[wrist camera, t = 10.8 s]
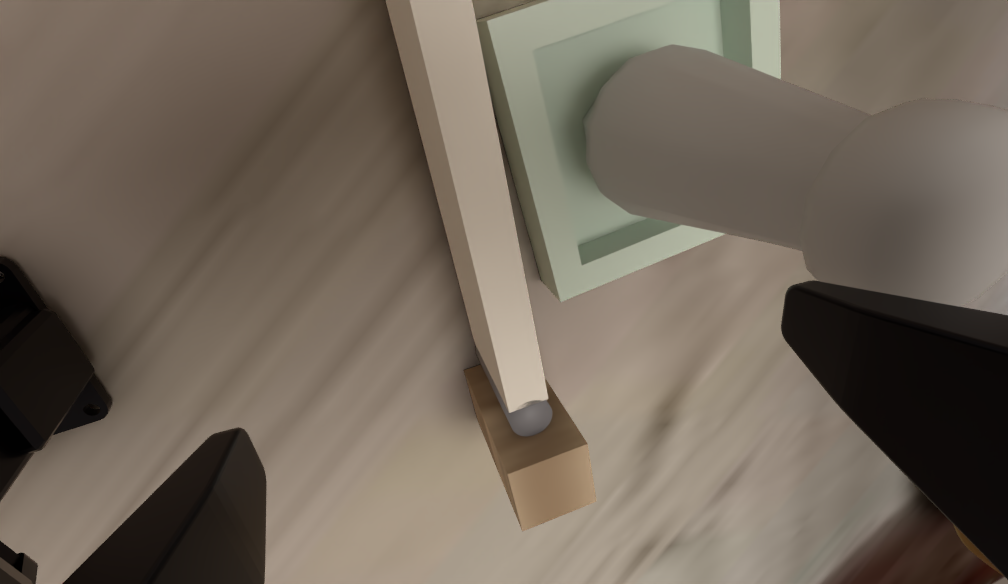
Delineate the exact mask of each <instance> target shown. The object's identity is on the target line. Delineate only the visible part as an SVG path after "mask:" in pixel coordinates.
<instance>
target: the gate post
mask: <svg viewBox="0 0 1008 584" xmlns="http://www.w3.org/2000/svg"><path fill="white" fill-rule="evenodd" d="M464 373H465V377H466V380H467V384H468V387H469V391H470V394H471V398H472V402H473V405H474V409H475V412H476V416H477V419H478V422H479V425H480V427H481V430H482V432H483V435H484V437H485V440H486V442H487V444H488V447H489V449H490V452H491V454H492V457H493V459H494V462H495V464H496V467H497V469H498V472H499V474H500V477H501V479H502V482H503V484H504V487H505V489H506V492H507V494H508V497H509V499H510V502H511V504H512V507H513V509H514V512H515V514H516V517H517V519H518V522H519V524H520V526H521V529H522V531H525V530H527V529H529V528H532V527H534V526H537V525H539V524H542V523H544V522H547V521H549V520H552V519H554V518H557V517H559V516H562V515H564V514H567V513H569V512H572V511H574V510H577V509H579V508H581V507H584V506H586V505H589V504H591V503H594V502H596V495H595V489H594V482H593V476H592V469H591V463H590V457H589V450H588V444H587V442H586V441H585V439H584V438H583V436H582V435H581V433H580V431H579V430H578V428H577V427H576V425H575V424H574V422H573V421H572V419H571V418H570V416H569V414H568V413H567V411H566V410H565V408H564V407H563V405H562V404H561V402H560V401H559V399H558V397H557V396H556V394H555V393H554V391H553V390H552V388H551V387H550V385H549V384H548V382H547V380H546V379H545V383H546V388H547V393H548V399H547V402H548V403H549V405H550V407H551V409H552V419H551V422H550V423H549V425H548V426H547V427H546V428H545V429H544V430H543V431H542V432H540V433H538V434H536V435H533V436H520V435H518V434H516V433H515V432H514V431H513V430H512V428H511V426H510V424H509V422H508V420H507V417H506V415H505V413H504V411H503V409H502V407H501V405H500V403H499V401H498V399H497V397H496V395H495V392H494V390H493V388H492V386H491V384H490V382H489V380H488V378H487V376H486V374H485V372H484V370H483V368H482V365H478V366H475V367H472V368H469V369H466V370H464ZM544 378H545V377H544Z"/></svg>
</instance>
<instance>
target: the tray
mask: <svg viewBox="0 0 1008 584" xmlns="http://www.w3.org/2000/svg"><path fill="white" fill-rule="evenodd" d="M476 23H477V29H478V34H479V39H480V44H481V49H482V55H483V60H484V65H485V70H486V76H487V81H488V86H489V91H490V96H491V101H492V105H493V108H494V112H495V116H496V119H497V123H498V126H499V130H500V134H501V137H502V141H503V144H504V148H505V152H506V155H507V159H508V162H509V166H510V170H511V173H512V177H513V180H514V184H515V188H516V191H517V195H518V198H519V202H520V206H521V209H522V213H523V216H524V220H525V224H526V227H527V231H528V234H529V238H530V242H531V245H532V249H533V252H534V256H535V260H536V263H537V267H538V270H539V274H540V278H541V281H542V282H543V283H544V284H545V285H546V286H547V287H548V289H549V290H550V291H551V292H552V293H553V294H554V295H555V296H556V298H557V299H558V300H559V301H560V302H563V301H565V300H568V299H570V298H572V297H575V296H577V295H580V294H582V293H584V292H587V291H589V290H592V289H594V288H596V287H599V286H601V285H604V284H606V283H609V282H611V281H613V280H616V279H618V278H621V277H623V276H625V275H628V274H630V273H633V272H635V271H637V270H640V269H642V268H645V267H647V266H649V265H652V264H654V263H657V262H659V261H662V260H664V259H666V258H669V257H671V256H674V255H676V254H678V253H681V252H683V251H686V250H688V249H690V248H693V247H695V246H698V245H700V244H702V243H705V242H707V241H710V240H712V239H714V238H717V237H719V236H722V235H724V233H720V232H715V231H710V230H705V229H700V228H695V227H690V226H686V225H681V224H676V223H671V222H666V221H661V220H656V219H652V218H647V217H642V216H637V215H632V214H629V213H628V212H626V211H625V210H624V209H622V208H621V207H619V206H618V205H616V204H615V203H614V202H612V201H611V200H609V199H608V198H606V197H605V196H604V195H603V194H602V193H601V192H600V191H599V189H598V186H597V184H596V182H595V180H594V178H593V176H592V174H591V171H590V169H589V167H588V165H587V163H586V136H585V131H584V127H583V122H582V119H583V118H584V116H585V115H586V113H587V112H588V110H589V109H590V107H591V106H592V104H593V103H594V101H595V100H596V98H597V96H598V94H599V91H600V89H601V87H602V86H603V85H604V84H605V83H606V82H607V81H608V80H609V78H610V77H611V76H612V75H613V74H614V73H615V72H616V71H617V70H618V69H619V68H620V67H621V66H622V65H623V64H624V63H625V62H626V61H627V60H628V59H629V58H632V57H635V56H638V55H641V54H644V53H646V52H649V51H652V50H655V49H658V48H661V47H664V46H668V45H671V44H674V45H680V46H686V47H692V48H697V49H703V50H707V51H710V52H712V53H715V54H717V55H720V56H723V57H725V58H728V59H730V60H733V61H735V62H738V63H740V64H743V65H745V66H748V67H751V68H753V69H756V70H758V71H761V72H763V73H766V74H768V75H771V76H773V77H776V78H779V79H781V55H780V0H536V1H533V2H530V3H527V4H524V5H521V6H518V7H515V8H512V9H508V10H505V11H502V12H499V13H496V14H493V15H490V16H487V17H484V18H481V19H478V20H476Z"/></svg>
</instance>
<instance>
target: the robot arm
mask: <svg viewBox="0 0 1008 584" xmlns="http://www.w3.org/2000/svg"><path fill="white" fill-rule="evenodd" d="M0 271H1V272H2V273H3V274H4V277H5V278H3V279H0V502H1V500H2V499H3V497H4V496H5V494H6V493H7V492H8V490H9V489H10V487H11V486H12V484H13V483H14V481H15V480H16V478H17V477H18V476H19V474H20V473H21V471H22V470H23V468H24V467H25V465H26V464H27V462H28V461H29V460H30V458H31V457H32V455H33V454H34V452H36V451H39V450H42V449H43V448H44V447H45V446H46V444H47V443H48V441H49V440H50V438H51V437H52V435H55V434H58V433H61V432H64V431H67V430H70V429H73V428H77V427H80V426H83V425H86V424H89V423H92V422H95V421H98V420H101V419H103V418H104V417H105V416H106V415H107V414H108V412H109V410H110V409H111V406H112V402H111V399H110V397H109V396H108V395H107V393H106V392H105V390H104V389H103V387H102V386H101V385H100V383H99V382H98V380H97V379H96V377H95V376H94V375H93V372H94V368H93V366H92V365H91V363H90V362H89V361H88V359H87V358H86V356H85V355H84V353H83V352H82V350H81V349H80V348H79V346H78V345H77V343H76V342H75V340H74V339H73V338H72V336H71V335H70V333H69V332H68V330H67V329H66V327H65V326H64V325H63V323H62V322H61V320H60V319H59V317H58V316H57V314H56V313H54V312H52V311H50V310H48V309H47V307H46V306H45V304H44V303H43V302H42V300H41V299H40V297H39V296H38V294H37V293H36V292H35V290H34V289H33V287H32V286H31V284H30V283H29V282H28V280H27V279H26V277H25V276H24V274H23V273H22V272H21V270H20V269H19V267H18V266H17V265H16V264H15V263H14V262H13V261H11V260H9V259H7V258H3V257H0ZM781 330H782V334H783V337H784V339H785V340H786V342H787V343H788V344H789V346H790V347H791V348H792V349H793V351H794V352H795V353H796V354H797V355H798V357H799V358H800V359H801V360H802V362H803V363H804V364H805V365H806V367H807V368H808V369H809V370H810V372H811V373H812V374H813V375H814V377H815V378H816V379H817V380H818V381H819V383H820V384H821V385H822V386H823V388H824V389H825V390H826V391H827V393H828V394H829V395H830V396H831V398H832V399H833V400H834V401H835V402H836V403H837V405H838V406H839V407H840V408H841V409H842V410H843V411H844V412H845V413H846V415H847V416H848V417H849V418H850V419H851V420H852V421H853V422H854V423H855V424H856V425H857V426H858V427H859V428H860V429H861V430H862V431H863V432H864V433H865V434H866V435H867V436H868V437H869V438H870V439H871V440H872V441H873V442H874V443H875V444H876V445H877V446H878V447H879V448H880V449H881V451H882V452H883V453H884V454H885V455H886V456H887V457H888V458H889V459H890V460H891V461H892V462H893V463H894V464H895V465H896V466H897V467H898V468H899V469H900V470H901V471H902V472H903V473H904V474H905V475H906V476H907V477H908V478H909V479H910V480H911V481H912V482H913V483H914V484H915V485H916V486H917V487H918V488H919V489H920V490H921V491H922V492H923V493H924V495H925V496H926V497H927V498H928V499H929V500H930V501H931V502H932V503H933V504H934V505H935V506H936V507H937V508H938V509H939V510H940V511H941V512H942V513H943V514H944V515H945V516H946V517H947V518H948V519H949V520H950V521H951V522H952V523H953V524H954V525H955V526H956V527H957V528H958V529H959V530H960V531H961V532H962V533H963V534H964V535H965V536H966V538H967V539H968V540H969V541H970V542H971V543H972V544H973V545H974V546H975V547H976V548H977V549H978V550H979V551H980V552H981V553H982V554H983V555H984V556H985V557H986V558H987V559H988V560H989V561H990V562H991V563H992V564H993V565H994V566H995V567H996V568H997V569H998V570H999V571H1000V572H1001V573H1002V574H1003V575H1004V576H1005V577H1006V578H1007V579H1008V315H1003V314H997V313H992V312H986V311H981V310H975V309H970V308H964V307H959V306H953V305H948V304H942V303H936V302H931V301H925V300H920V299H914V298H909V297H903V296H898V295H892V294H887V293H881V292H876V291H870V290H864V289H859V288H853V287H848V286H842V285H837V284H831V283H826V282H820V281H807V282H803V283H799V284H795V285H792V286H791V287H789V288H788V290H787V292H786V295H785V302H784V309H783V316H782V323H781ZM88 404H95V405H97V406H98V407H99V408H100V409H93V408H90V407H89V406H88ZM265 545H266V475H265V471H264V467H263V465H262V463H261V461H260V459H259V457H258V454H257V452H256V450H255V448H254V446H253V444H252V442H251V440H250V437H249V435H248V434H247V432H246V431H245V430H244V429H242V428H234V429H230V430H226V431H223V432H219V433H215V434H213V435H211V436H210V437H209V438H208V439H207V440H206V441H205V442H204V443H203V444H202V445H201V446H200V447H199V448H198V449H197V450H196V451H195V452H194V453H193V454H192V455H191V456H190V457H189V458H188V459H187V460H186V461H185V462H184V463H183V464H182V465H181V466H180V467H179V468H178V469H177V470H176V471H175V472H174V473H173V474H172V475H171V476H170V477H169V478H168V479H167V480H166V481H165V482H164V483H163V484H162V485H161V486H160V487H159V488H158V489H157V490H156V491H155V492H154V493H153V494H152V495H151V496H150V497H149V498H148V499H147V500H146V501H145V502H144V503H143V504H142V505H141V506H140V507H139V508H138V509H137V510H136V511H135V512H134V513H133V514H132V515H131V516H130V517H129V518H128V519H127V520H126V521H125V522H124V523H123V524H122V525H121V526H120V527H119V528H118V529H117V530H116V531H115V532H114V533H113V534H112V535H111V536H110V537H109V538H108V539H107V540H106V541H105V542H104V543H103V544H102V545H101V546H100V547H99V548H98V549H97V550H96V551H95V552H94V553H93V554H92V555H91V556H90V557H89V558H88V559H87V560H86V561H85V562H84V563H83V564H82V565H81V566H80V567H79V568H78V569H77V570H76V571H75V572H74V573H73V574H72V575H71V576H70V577H69V578H68V579H67V580H66V581H65V582H64V583H63V584H264V582H265ZM37 567H38V565H37V563H36V562H35V561H33V560H32V559H31V558H30V557H28V556H27V555H26V554H25V553H19V554H17V553H15V552H14V551H13V550H11V549H10V548H9V547H8V546H6V545H5V544H4V543H2V542H1V541H0V584H36V575H37Z"/></svg>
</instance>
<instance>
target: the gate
mask: <svg viewBox="0 0 1008 584" xmlns="http://www.w3.org/2000/svg"><path fill="white" fill-rule="evenodd" d="M385 1H386V5H387V9H388V12H389V16H390V20H391V24H392V28H393V32H394V35H395V39H396V43H397V47H398V51H399V55H400V58H401V62H402V66H403V70H404V74H405V78H406V81H407V85H408V89H409V93H410V97H411V101H412V104H413V108H414V112H415V116H416V120H417V124H418V128H419V131H420V135H421V139H422V143H423V147H424V151H425V154H426V158H427V162H428V166H429V170H430V174H431V177H432V181H433V185H434V189H435V193H436V197H437V200H438V204H439V208H440V212H441V216H442V220H443V223H444V227H445V231H446V235H447V239H448V243H449V247H450V250H451V254H452V258H453V262H454V266H455V270H456V273H457V277H458V281H459V285H460V289H461V293H462V296H463V300H464V304H465V308H466V312H467V316H468V319H469V323H470V327H471V331H472V335H473V339H474V342H475V345H476V355H477V357H478V359H479V361H480V363H481V365H482V368H483V370H484V372H485V374H486V376H487V378H488V380H489V382H490V384H491V386H492V388H493V390H494V392H495V395H496V397H497V399H498V401H499V403H500V405H501V407H502V409H503V411H504V413H505V415H506V417H507V420H508V422H509V424H510V426H511V428H512V430H513V431H514V432H515V433H516V434H518V435H520V436H533V435H536V434H538V433H540V432H542V431H543V430H544V429H545V428H546V427H547V426H548V425H549V423H550V422H551V419H552V409H551V407H550V405H549V403H548V402H547V399H548V393H547V388H546V383H545V378H544V373H543V367H542V362H541V357H540V352H539V347H538V341H537V336H536V331H535V326H534V320H533V315H532V310H531V305H530V300H529V294H528V289H527V284H526V279H525V274H524V268H523V263H522V258H521V253H520V247H519V242H518V237H517V232H516V227H515V221H514V216H513V211H512V206H511V201H510V195H509V190H508V185H507V180H506V175H505V169H504V164H503V159H502V154H501V148H500V143H499V138H498V133H497V128H496V122H495V117H494V112H493V107H492V102H491V96H490V91H489V86H488V81H487V76H486V70H485V65H484V60H483V55H482V49H481V44H480V39H479V34H478V29H477V23H476V18H475V13H474V8H473V3H472V0H385Z"/></svg>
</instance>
